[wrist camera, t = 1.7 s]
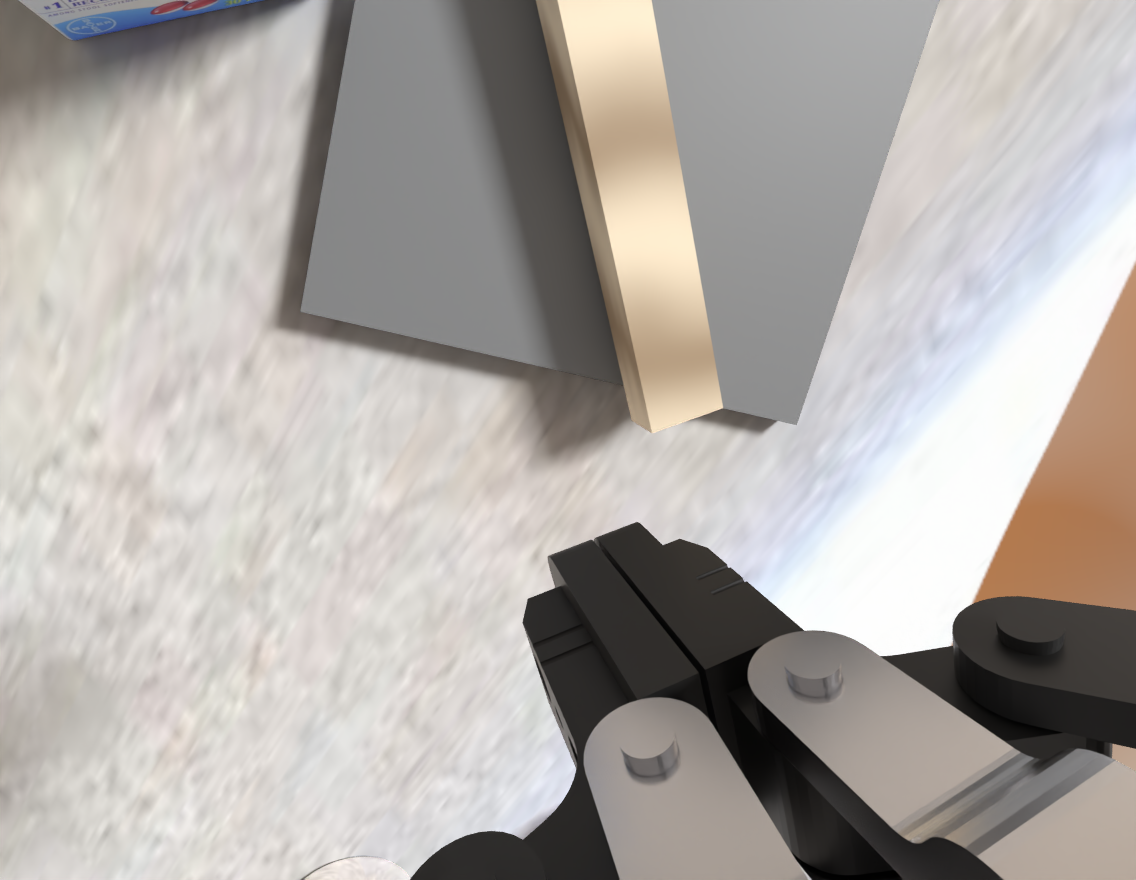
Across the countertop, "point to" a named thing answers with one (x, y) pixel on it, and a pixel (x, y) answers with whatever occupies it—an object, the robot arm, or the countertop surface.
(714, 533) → the countertop surface
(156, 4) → the medicine box
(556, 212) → the board
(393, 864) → the beer glass
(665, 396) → the latch bar
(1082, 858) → the robot arm
